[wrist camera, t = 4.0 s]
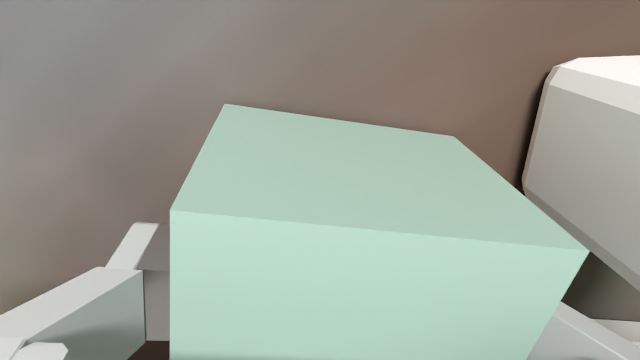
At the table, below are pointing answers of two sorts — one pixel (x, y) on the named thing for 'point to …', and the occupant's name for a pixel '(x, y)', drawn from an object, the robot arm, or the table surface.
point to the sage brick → (356, 247)
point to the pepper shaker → (591, 157)
